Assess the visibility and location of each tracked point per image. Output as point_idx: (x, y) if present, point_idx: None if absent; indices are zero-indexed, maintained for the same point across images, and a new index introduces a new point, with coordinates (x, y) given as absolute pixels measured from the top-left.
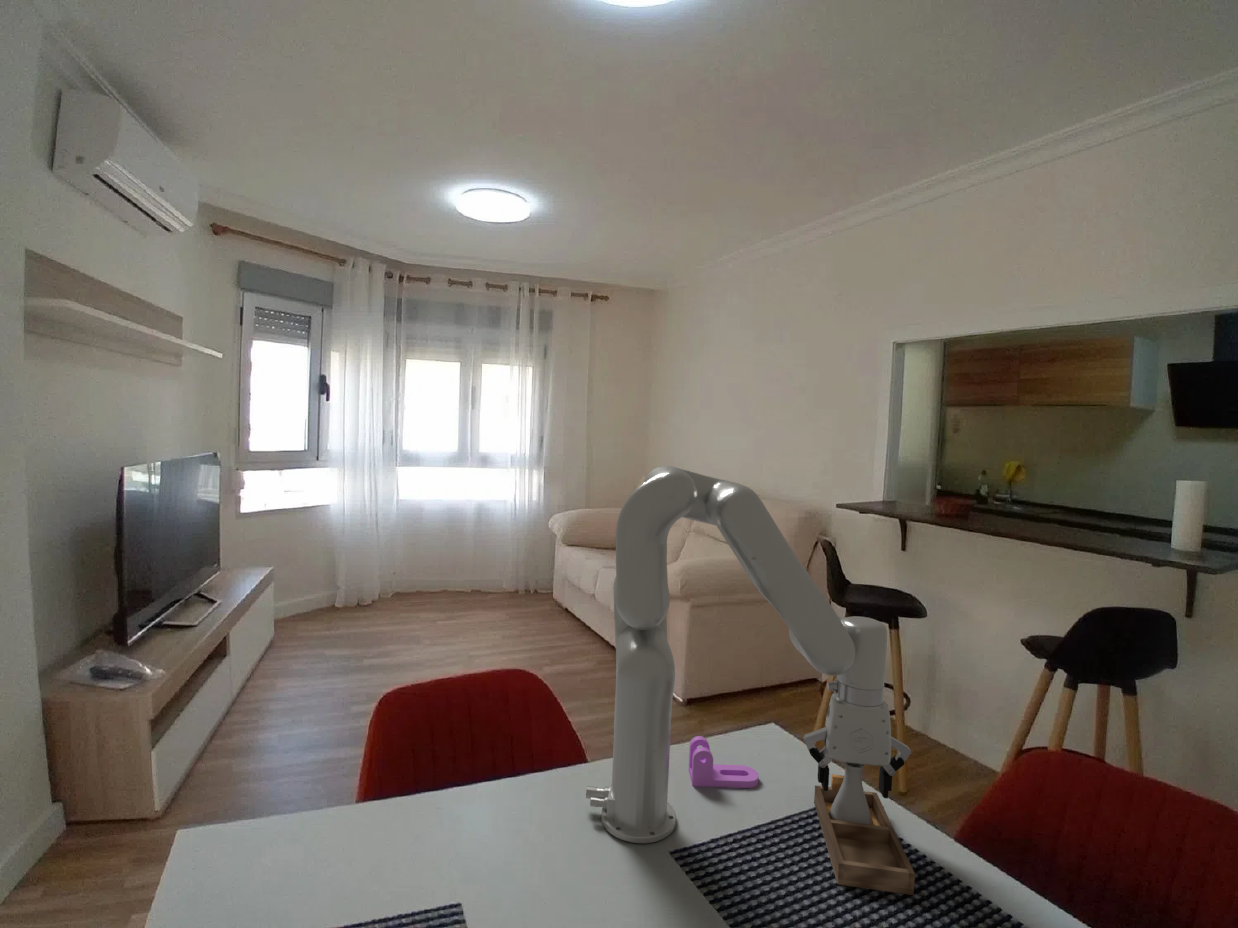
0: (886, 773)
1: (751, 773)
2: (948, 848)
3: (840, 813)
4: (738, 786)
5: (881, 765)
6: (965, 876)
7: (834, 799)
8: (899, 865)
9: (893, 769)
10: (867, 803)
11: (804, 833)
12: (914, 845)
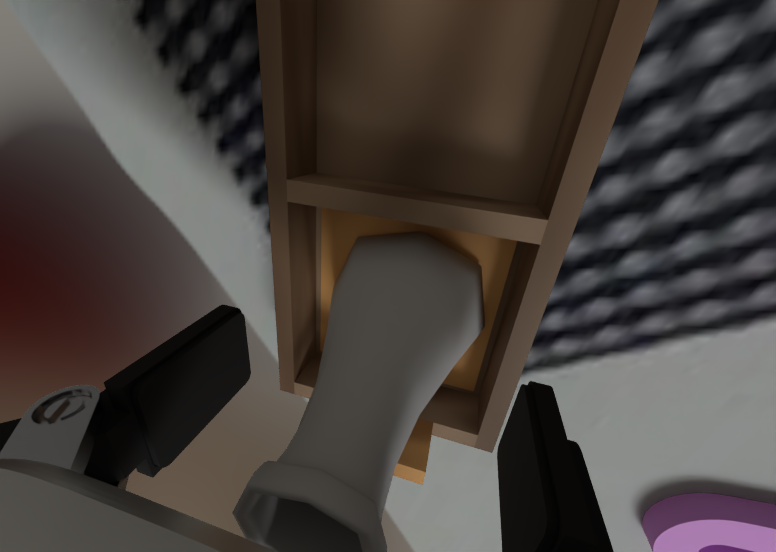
0: (121, 409)
1: (684, 547)
2: (155, 190)
3: (461, 290)
4: (767, 506)
5: (12, 463)
6: (123, 49)
7: None
8: (309, 2)
9: (25, 419)
10: None
11: (626, 247)
12: (240, 197)
